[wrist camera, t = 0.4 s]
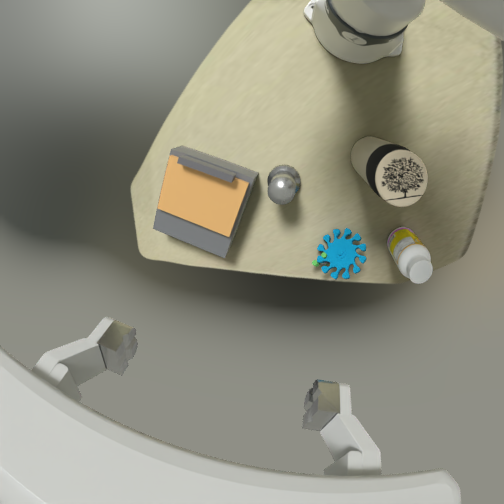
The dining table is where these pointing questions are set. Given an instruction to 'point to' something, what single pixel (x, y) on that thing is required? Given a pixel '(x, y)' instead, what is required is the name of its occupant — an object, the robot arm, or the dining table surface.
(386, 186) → the travel mug
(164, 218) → the housing
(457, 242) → the dining table surface
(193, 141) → the dining table surface
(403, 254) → the supplement bottle
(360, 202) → the dining table surface
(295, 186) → the silver rounded cylinder
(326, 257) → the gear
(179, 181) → the lid
